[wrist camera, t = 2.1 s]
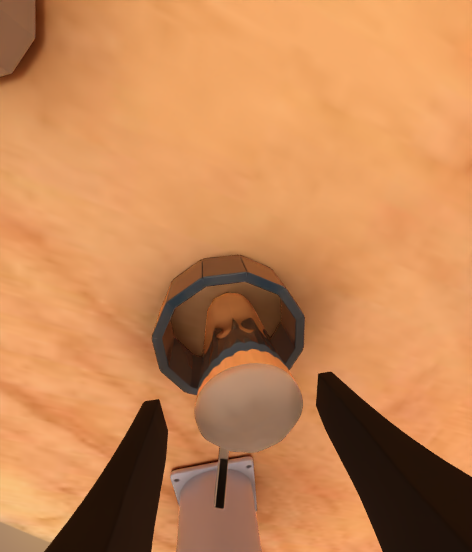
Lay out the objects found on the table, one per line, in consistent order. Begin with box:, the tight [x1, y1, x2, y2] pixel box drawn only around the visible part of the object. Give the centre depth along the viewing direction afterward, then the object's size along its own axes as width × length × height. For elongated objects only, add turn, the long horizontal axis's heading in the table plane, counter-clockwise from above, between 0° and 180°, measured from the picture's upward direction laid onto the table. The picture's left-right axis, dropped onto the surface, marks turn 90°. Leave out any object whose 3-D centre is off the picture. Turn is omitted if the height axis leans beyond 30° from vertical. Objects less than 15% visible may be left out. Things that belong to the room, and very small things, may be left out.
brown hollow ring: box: [152, 255, 305, 395], centre depth 16 cm, size 9×9×3 cm
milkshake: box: [194, 292, 303, 509], centre depth 13 cm, size 4×5×10 cm
